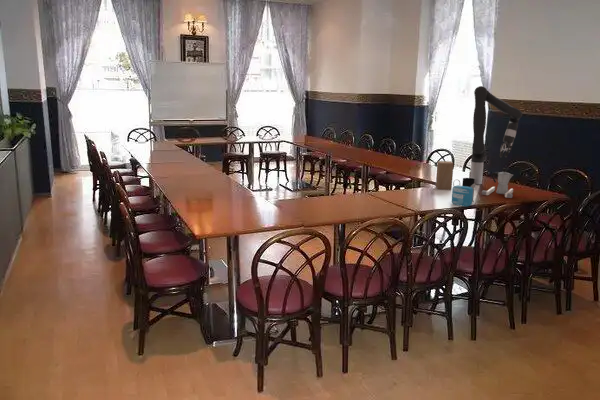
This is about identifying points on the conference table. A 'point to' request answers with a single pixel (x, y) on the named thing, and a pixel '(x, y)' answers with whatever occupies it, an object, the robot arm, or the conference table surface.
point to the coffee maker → (502, 181)
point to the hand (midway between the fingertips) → (503, 156)
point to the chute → (507, 194)
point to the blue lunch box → (468, 184)
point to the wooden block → (444, 175)
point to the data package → (462, 195)
